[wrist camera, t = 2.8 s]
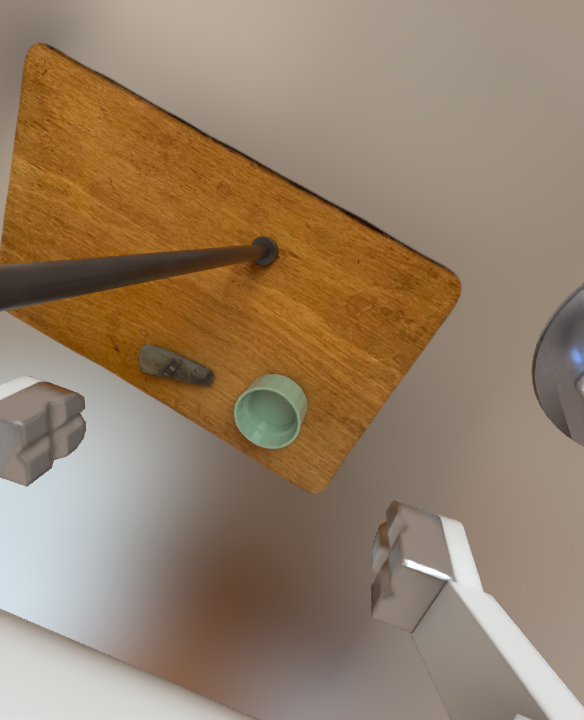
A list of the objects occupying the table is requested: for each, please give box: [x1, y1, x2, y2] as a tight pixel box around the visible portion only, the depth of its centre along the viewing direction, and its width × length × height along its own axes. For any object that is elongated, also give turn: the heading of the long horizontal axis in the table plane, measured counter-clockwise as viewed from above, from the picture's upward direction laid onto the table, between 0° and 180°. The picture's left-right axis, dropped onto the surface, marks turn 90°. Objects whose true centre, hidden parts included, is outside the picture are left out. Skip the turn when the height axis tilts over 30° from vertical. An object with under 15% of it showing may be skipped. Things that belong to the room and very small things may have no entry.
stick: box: [0, 237, 278, 311], centre depth 28 cm, size 4×4×38 cm
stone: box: [139, 345, 214, 385], centre depth 54 cm, size 13×5×2 cm, turn 80°
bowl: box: [234, 374, 308, 449], centre depth 51 cm, size 10×10×6 cm
